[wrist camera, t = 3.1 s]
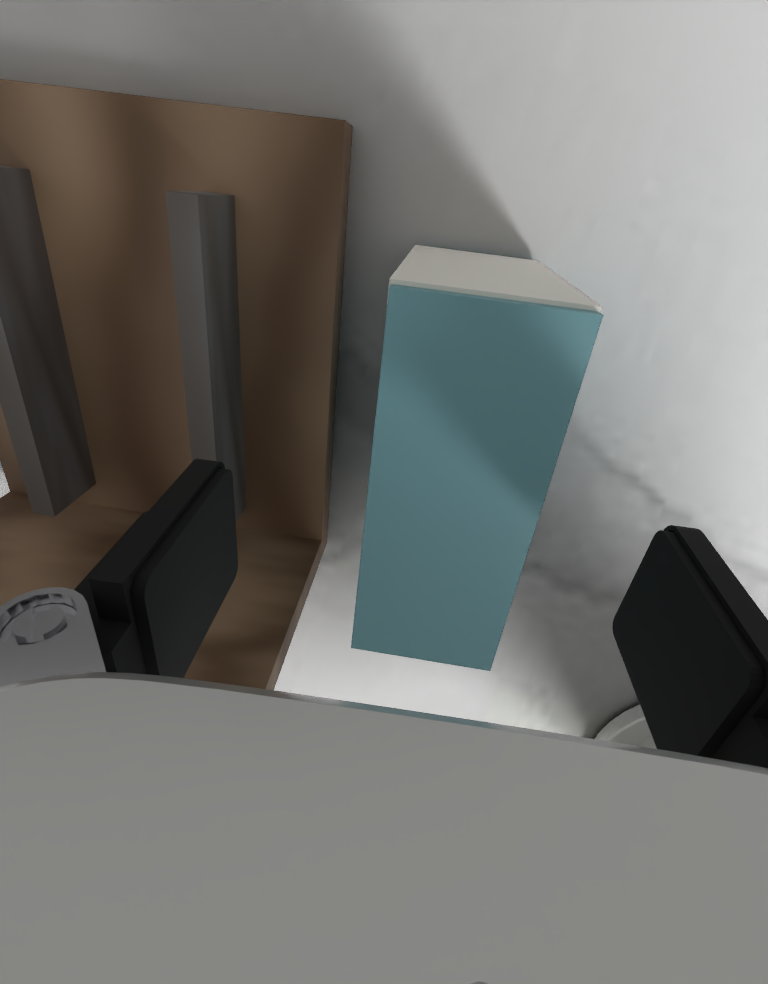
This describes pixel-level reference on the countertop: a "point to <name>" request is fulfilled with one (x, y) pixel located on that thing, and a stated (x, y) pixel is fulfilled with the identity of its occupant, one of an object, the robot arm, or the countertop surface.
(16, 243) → the wooden book stand
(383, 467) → the teal book
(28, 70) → the countertop surface
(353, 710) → the robot arm
